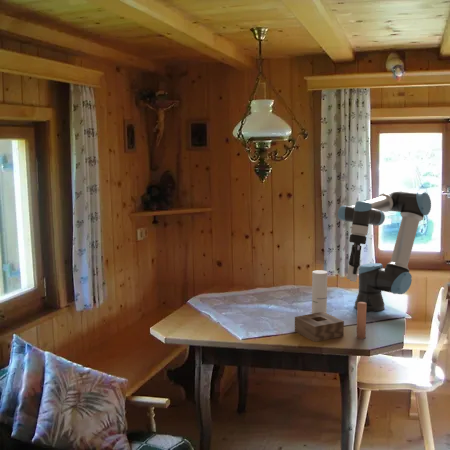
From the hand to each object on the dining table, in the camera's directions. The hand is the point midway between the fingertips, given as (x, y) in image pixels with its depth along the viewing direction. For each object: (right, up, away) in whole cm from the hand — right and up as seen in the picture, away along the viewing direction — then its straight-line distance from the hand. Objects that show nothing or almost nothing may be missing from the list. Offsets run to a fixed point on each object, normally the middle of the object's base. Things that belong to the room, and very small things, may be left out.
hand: (351, 280), depth 293 cm
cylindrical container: (-12, -22, +17) cm, 30 cm away
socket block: (-15, -25, 0) cm, 29 cm away
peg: (+3, -25, -5) cm, 26 cm away
